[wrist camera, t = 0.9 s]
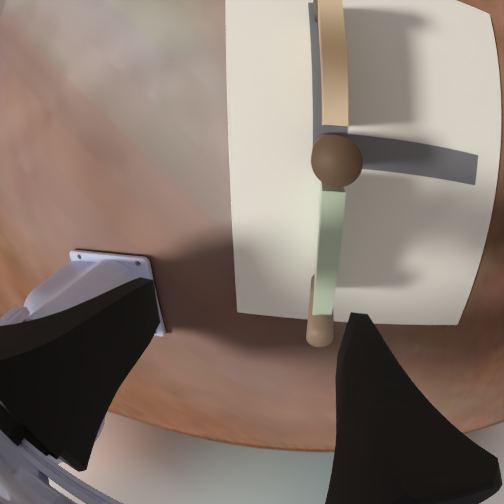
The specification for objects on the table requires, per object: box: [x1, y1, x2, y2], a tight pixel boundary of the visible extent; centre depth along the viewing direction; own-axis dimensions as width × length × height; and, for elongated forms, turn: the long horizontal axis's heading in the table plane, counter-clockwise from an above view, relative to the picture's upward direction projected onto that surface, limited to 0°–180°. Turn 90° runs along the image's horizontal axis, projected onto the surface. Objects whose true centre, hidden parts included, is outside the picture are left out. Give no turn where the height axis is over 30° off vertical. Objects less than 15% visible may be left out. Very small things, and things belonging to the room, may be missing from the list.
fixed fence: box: [311, 0, 363, 187], centre depth 11 cm, size 10×2×6 cm, turn 1°
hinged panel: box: [306, 182, 346, 347], centre depth 15 cm, size 8×1×6 cm, turn 1°
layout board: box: [226, 0, 501, 325], centre depth 15 cm, size 18×24×1 cm
